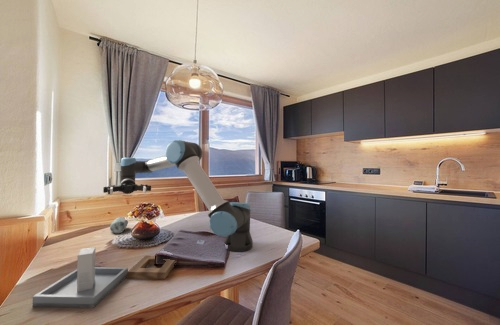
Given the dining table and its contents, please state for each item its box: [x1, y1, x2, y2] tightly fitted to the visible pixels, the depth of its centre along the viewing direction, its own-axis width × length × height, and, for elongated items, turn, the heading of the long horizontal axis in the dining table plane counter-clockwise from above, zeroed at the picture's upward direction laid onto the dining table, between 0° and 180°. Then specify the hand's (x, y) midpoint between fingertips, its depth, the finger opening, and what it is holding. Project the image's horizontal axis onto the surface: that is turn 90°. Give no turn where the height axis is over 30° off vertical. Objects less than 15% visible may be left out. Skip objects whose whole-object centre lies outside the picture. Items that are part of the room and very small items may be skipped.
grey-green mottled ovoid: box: [109, 216, 129, 234], centre depth 132 cm, size 14×10×10 cm
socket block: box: [126, 255, 175, 280], centre depth 86 cm, size 14×14×2 cm
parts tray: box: [32, 266, 129, 308], centre depth 72 cm, size 18×18×3 cm
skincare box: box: [76, 246, 96, 292], centre depth 72 cm, size 6×4×12 cm
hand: (128, 191), depth 98 cm, fingers open, 13 cm apart
